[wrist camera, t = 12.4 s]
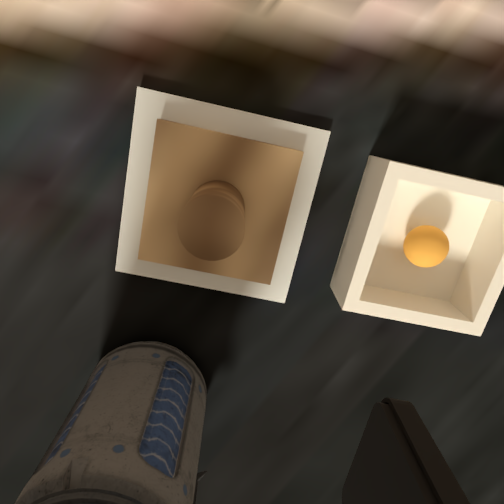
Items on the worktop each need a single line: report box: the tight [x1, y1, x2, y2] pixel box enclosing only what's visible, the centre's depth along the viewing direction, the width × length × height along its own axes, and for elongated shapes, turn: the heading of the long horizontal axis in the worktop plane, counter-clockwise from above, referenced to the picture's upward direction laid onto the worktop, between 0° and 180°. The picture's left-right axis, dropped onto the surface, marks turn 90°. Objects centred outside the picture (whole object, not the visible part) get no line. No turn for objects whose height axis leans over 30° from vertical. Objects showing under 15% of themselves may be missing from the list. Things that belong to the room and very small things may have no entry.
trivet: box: [115, 87, 331, 303], centre depth 31 cm, size 14×14×1 cm
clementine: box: [403, 225, 449, 267], centre depth 30 cm, size 3×3×3 cm
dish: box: [330, 155, 504, 336], centre depth 30 cm, size 11×11×4 cm
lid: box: [138, 119, 304, 285], centre depth 27 cm, size 10×10×7 cm
